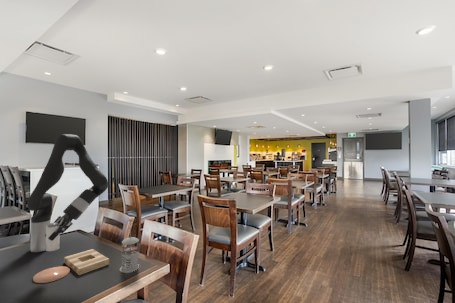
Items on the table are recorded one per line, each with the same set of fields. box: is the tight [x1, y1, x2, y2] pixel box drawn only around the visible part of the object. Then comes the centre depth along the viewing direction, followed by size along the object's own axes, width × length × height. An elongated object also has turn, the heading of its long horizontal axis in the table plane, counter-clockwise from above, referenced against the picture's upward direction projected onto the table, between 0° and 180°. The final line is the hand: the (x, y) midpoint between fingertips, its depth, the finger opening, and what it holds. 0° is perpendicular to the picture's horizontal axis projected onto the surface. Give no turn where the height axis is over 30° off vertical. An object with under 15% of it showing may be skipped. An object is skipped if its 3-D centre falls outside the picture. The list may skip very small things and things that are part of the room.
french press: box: [119, 218, 140, 274], centre depth 120 cm, size 10×12×25 cm
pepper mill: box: [45, 222, 61, 252], centre depth 112 cm, size 5×5×12 cm
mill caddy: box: [63, 248, 110, 276], centre depth 124 cm, size 20×14×3 cm
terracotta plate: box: [32, 265, 71, 284], centre depth 112 cm, size 14×14×1 cm
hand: (48, 238), depth 111 cm, fingers closed on pepper mill, 5 cm apart
